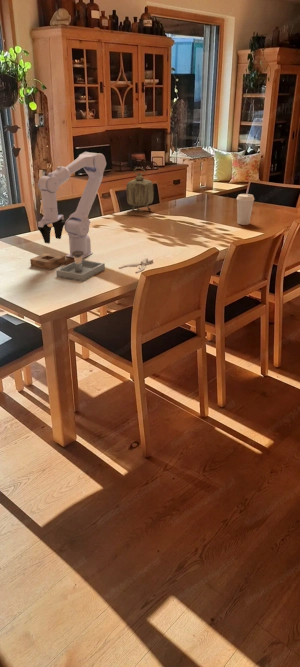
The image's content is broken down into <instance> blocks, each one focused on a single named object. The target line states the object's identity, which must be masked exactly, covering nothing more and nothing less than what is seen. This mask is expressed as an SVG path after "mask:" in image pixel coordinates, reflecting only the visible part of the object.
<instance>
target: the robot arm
mask: <svg viewBox="0 0 300 667" xmlns="http://www.w3.org/2000/svg"><path fill="white" fill-rule="evenodd" d="M106 166H107V161H106V157H105V155H104V154H103V153H100V152H99V153H97V152H89V151H84V152H82V153H80V154H78V157H77V158H76V159H74V160H73V161H71V162H70V163H68V164H67V165H66V166H63V165H61V166H60V165H58V166H56V169H54V170H53V171H52V172H48V173H47V175H42V176H41V177H40V178H39V179H38V182H37V184H36V185H37V188H38V189H39V191H40V195H41V203H42V212H43V217H41V219H40V220H39V221H38V222H37V230H39V232H40V234H41V236H42V239H43V243H45V244H48V245H49V244H51V230H52V228H53V232H54V235H55V236H54V237H55V239H58V240H61V239H62V233H63V229H64V231H65V232H66V234H67V236H68V242H69V243H68V244H69V253H68V254H66V255H65V258H71V259H74V256H73V255H72V252H73V251H83V255H82V259H84V258H86V257H89V256H90V255H93V252H92V245H91V237H90V236H89V232H90V225H91V220H90V219H89V214H90V211H91V209H92V208H93V207H92V206H93V204H94V202H95V200H96V196H97V195H98V194H97V193H98V191H99V188H100V186H101V184H102V182H103V177H104V172H105V169H106ZM81 169H83V170H84V172H85V173H86V174H87V175H88V176H87V177H88V179H87V182H86V184H85V187H84V189H83V192H82V193H81V194H82V195H81V197H80V199H79V202H78V204H77V207H76V209H75V211H74V212H73V213H71V214H70V215H69V217H68V218H67V219H66V221H65V218H64V214H59V211H58V210H59V209H58V200H57V191H58V190H59V187H60V186H61V185H63V184H64V183H66V182H67V181H68V180H70V178H71V175H72V174H75V173H76V172H77V171H79V170H81ZM51 224H52V226H49V225H51Z"/></svg>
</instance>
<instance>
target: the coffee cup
mask: <svg viewBox="0 0 300 667" xmlns="http://www.w3.org/2000/svg"><path fill="white" fill-rule="evenodd" d="M254 201H255V197H254V194H250V193H240V194H238V195H237V197H236V207H237V208H236V211H237V212H236V213H237V214H236V215H237V217H236V218H237V219H236V220H237V224H238V225H241V226H242V225H243V226H244V225H247V226H248V225H249V224H250V222H251V217H252V211H253V206H254Z"/></svg>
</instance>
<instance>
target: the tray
mask: <svg viewBox="0 0 300 667" xmlns="http://www.w3.org/2000/svg"><path fill="white" fill-rule="evenodd" d="M82 268H83V272H80V273H77V272H75V263H74V261H73V262H71V263H69V264H66V265H64V266H62V267H60V268H58V269H56V270H55V271H56V277H57V278H62V279H68V280H72V281H73V280H74V281H77V282H84V281H86V280H88V279H89V278H92V277H93V276H96V275H97V274H99V273H101V272H103V271H104V270H106V265H105V263H104V262H98V261H93V260H86V259H82Z"/></svg>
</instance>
